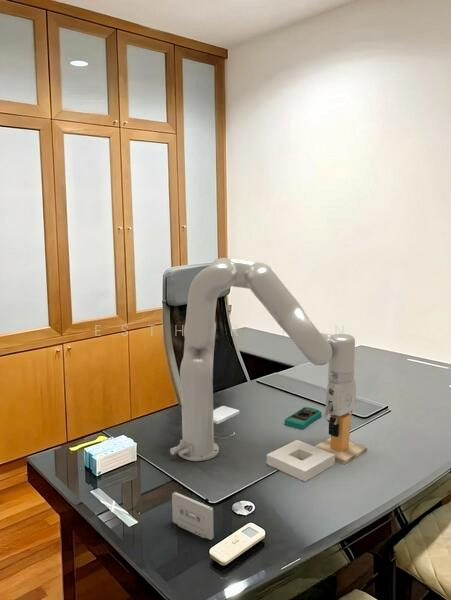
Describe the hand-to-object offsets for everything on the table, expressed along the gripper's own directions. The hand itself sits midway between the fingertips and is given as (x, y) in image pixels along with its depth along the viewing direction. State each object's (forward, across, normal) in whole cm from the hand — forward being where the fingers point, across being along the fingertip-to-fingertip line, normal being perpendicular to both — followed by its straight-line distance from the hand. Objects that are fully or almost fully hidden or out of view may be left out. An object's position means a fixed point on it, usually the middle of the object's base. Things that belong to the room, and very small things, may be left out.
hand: (339, 431), depth 161 cm
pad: (+6, 0, 0) cm, 6 cm away
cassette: (+6, -58, +1) cm, 58 cm away
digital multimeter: (+7, +11, +22) cm, 26 cm away
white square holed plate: (+6, -15, +3) cm, 16 cm away
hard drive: (+7, -7, +46) cm, 47 cm away
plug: (+5, 0, 0) cm, 5 cm away
